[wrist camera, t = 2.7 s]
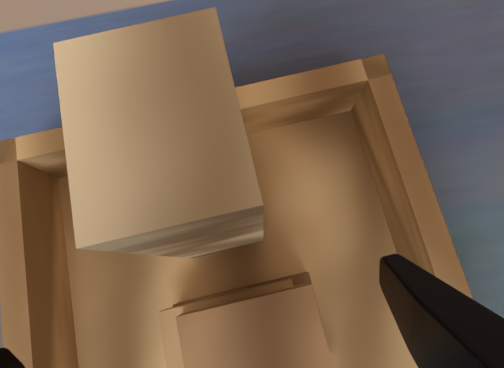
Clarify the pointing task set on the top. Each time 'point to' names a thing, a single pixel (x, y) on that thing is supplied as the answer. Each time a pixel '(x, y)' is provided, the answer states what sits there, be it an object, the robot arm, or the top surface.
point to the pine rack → (246, 257)
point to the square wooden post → (157, 140)
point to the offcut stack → (248, 328)
